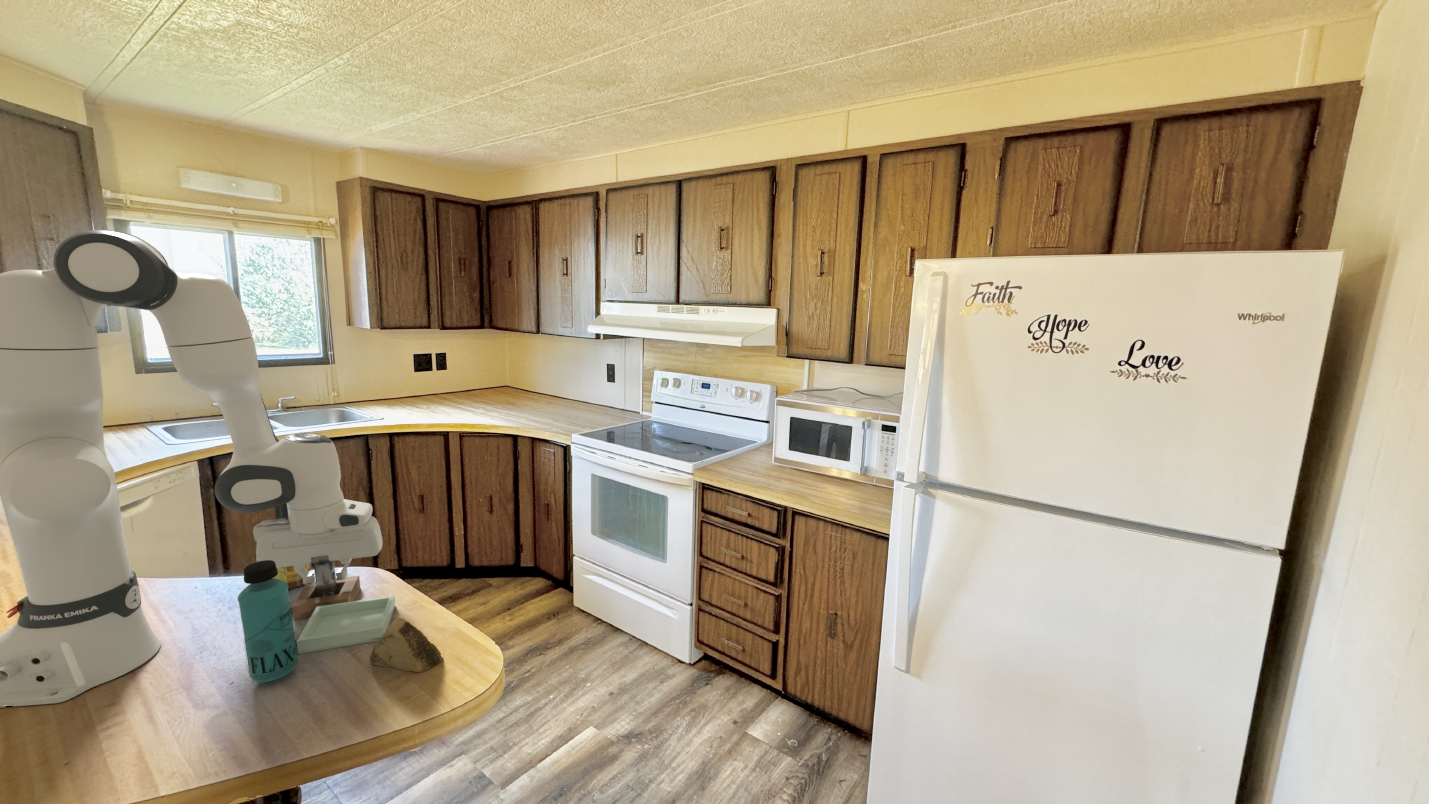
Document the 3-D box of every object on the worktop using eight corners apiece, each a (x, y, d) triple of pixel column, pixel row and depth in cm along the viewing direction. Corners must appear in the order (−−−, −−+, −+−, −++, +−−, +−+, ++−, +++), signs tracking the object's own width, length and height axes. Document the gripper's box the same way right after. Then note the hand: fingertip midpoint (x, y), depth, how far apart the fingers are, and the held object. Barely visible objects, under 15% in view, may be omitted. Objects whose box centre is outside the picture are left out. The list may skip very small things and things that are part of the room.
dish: (298, 654, 95) (296, 641, 95) (318, 618, 105) (316, 606, 105) (384, 639, 100) (383, 627, 99) (395, 606, 110) (394, 595, 109)
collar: (294, 620, 104) (292, 606, 104) (309, 595, 113) (307, 582, 112) (349, 612, 108) (347, 598, 107) (360, 588, 116) (359, 575, 115)
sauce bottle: (292, 593, 113) (279, 502, 109) (267, 588, 115) (253, 499, 110) (320, 577, 120) (309, 491, 116) (296, 573, 121) (284, 487, 117)
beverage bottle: (245, 696, 85) (225, 579, 81) (256, 670, 91) (238, 559, 87) (297, 683, 88) (280, 570, 84) (304, 659, 94) (289, 551, 90)
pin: (311, 612, 107) (304, 559, 105) (319, 599, 111) (312, 548, 109) (339, 607, 109) (332, 556, 107) (345, 595, 113) (339, 545, 111)
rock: (347, 659, 91) (375, 677, 85) (373, 606, 94) (403, 619, 89) (406, 667, 99) (436, 684, 93) (428, 618, 102) (459, 631, 97)
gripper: (244, 528, 100) (255, 597, 103) (374, 515, 107) (380, 580, 110) (258, 515, 106) (268, 580, 108) (380, 503, 113) (387, 565, 115)
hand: (326, 580), depth 109 cm, fingers closed on pin, 4 cm apart
